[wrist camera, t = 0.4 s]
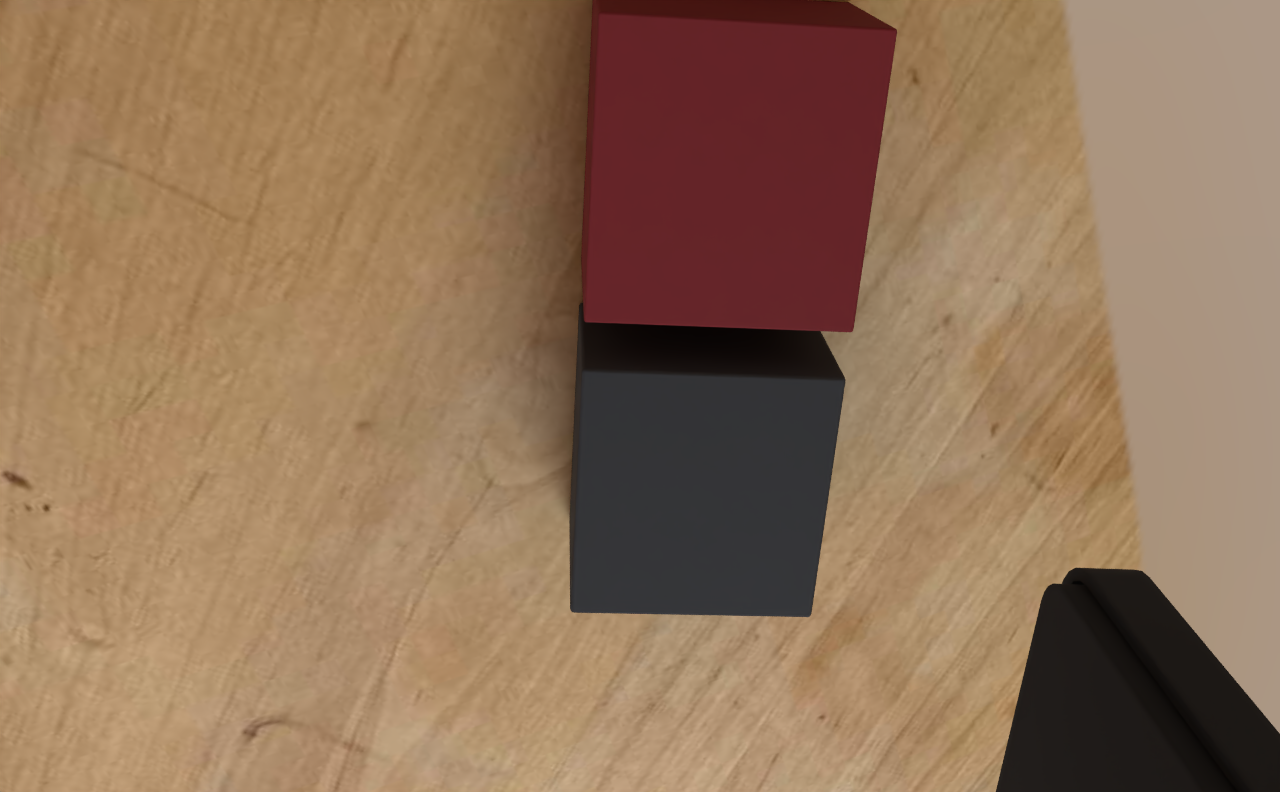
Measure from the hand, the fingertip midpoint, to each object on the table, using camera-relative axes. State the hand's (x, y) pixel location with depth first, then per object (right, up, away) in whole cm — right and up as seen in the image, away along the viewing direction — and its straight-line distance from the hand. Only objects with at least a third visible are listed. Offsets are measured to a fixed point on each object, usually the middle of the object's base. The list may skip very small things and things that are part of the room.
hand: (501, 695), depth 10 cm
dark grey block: (+2, +2, +19) cm, 20 cm away
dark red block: (+3, +8, +16) cm, 19 cm away
